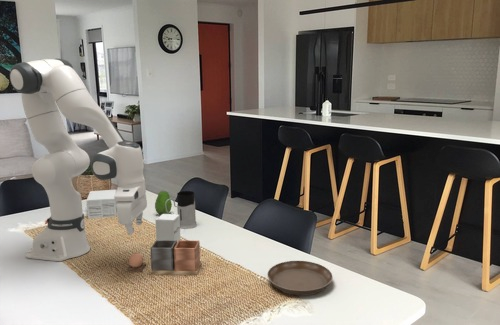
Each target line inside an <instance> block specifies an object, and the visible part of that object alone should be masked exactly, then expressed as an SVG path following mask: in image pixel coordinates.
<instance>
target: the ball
mask: <svg viewBox="0 0 500 325" xmlns="http://www.w3.org/2000/svg"><path fill="white" fill-rule="evenodd" d="M144 260H145V259H144V257H143V255H142V254H141V253H137V252H136V253H132V254H130V256H129V258H128V264H129V265H131V266H132V267H133V268H140V266H141V265H142V264H143V263H144Z"/></svg>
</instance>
